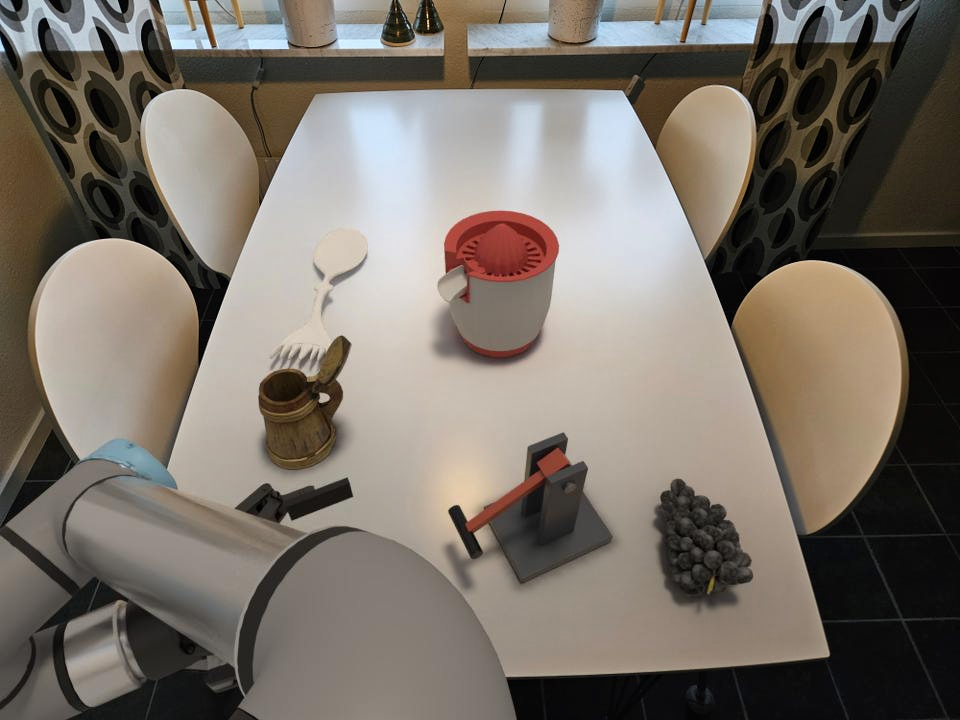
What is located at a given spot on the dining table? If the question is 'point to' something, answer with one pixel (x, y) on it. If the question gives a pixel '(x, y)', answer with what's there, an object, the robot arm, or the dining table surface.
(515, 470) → the dining table surface
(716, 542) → the fruit
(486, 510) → the lever
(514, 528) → the bracket
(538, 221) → the citrus juicer
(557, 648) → the dining table surface
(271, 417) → the wooden mug
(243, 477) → the dining table surface
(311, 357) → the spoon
